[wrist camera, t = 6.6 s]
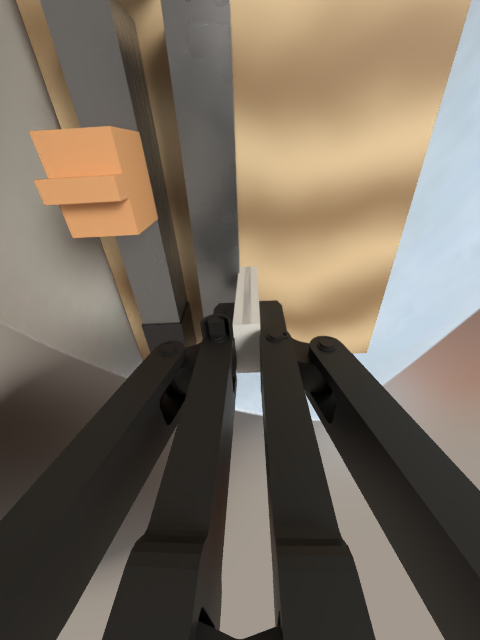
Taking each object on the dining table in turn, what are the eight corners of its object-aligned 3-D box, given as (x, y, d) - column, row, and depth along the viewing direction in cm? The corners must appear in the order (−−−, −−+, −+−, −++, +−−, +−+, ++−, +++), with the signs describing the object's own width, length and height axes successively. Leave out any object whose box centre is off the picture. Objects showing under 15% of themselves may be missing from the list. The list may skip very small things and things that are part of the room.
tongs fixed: (45, -96, 10) (-72, -246, 6) (167, -107, 10) (122, -267, 6) (165, 343, 22) (150, 381, 18) (220, 340, 22) (216, 379, 18)
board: (-11, -122, 10) (-39, -153, 9) (502, -171, 10) (533, -209, 9) (147, 352, 24) (143, 361, 23) (361, 344, 23) (366, 352, 22)
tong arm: (172, 17, 11) (154, -19, 9) (233, 14, 11) (231, -23, 9) (212, 342, 22) (208, 366, 19) (243, 341, 21) (244, 365, 19)
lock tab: (76, 135, 11) (11, 129, 8) (139, 131, 11) (98, 123, 8) (104, 221, 13) (61, 243, 10) (158, 218, 13) (131, 240, 10)
